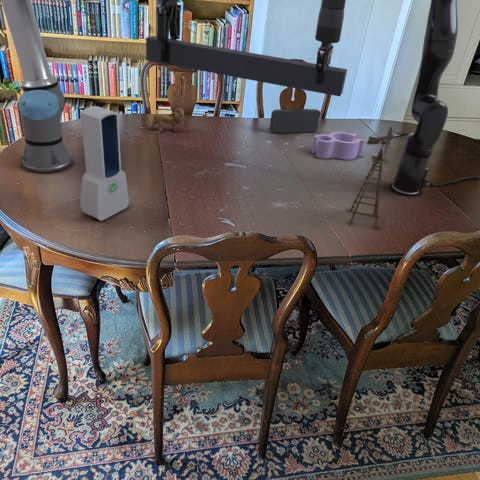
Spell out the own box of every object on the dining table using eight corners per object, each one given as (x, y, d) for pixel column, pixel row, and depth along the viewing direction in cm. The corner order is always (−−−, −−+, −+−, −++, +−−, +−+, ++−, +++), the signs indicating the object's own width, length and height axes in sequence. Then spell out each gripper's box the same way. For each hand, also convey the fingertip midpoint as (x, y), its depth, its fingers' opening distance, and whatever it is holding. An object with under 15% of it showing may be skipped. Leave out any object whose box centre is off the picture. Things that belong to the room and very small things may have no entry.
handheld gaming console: (314, 130, 214) (318, 108, 209) (317, 132, 212) (321, 110, 207) (268, 131, 207) (271, 109, 202) (270, 133, 205) (273, 111, 200)
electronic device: (98, 222, 131) (90, 118, 115) (80, 214, 134) (69, 111, 118) (130, 206, 140) (126, 108, 124) (111, 198, 143) (105, 101, 127)
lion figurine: (182, 127, 202) (182, 106, 197) (185, 131, 197) (185, 110, 193) (148, 128, 197) (147, 107, 192) (150, 132, 193) (150, 111, 188)
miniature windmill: (376, 228, 143) (404, 134, 127) (348, 223, 144) (372, 129, 128) (375, 214, 150) (401, 124, 134) (349, 209, 151) (371, 119, 135)
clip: (320, 160, 184) (324, 144, 180) (307, 148, 194) (310, 132, 190) (364, 158, 190) (368, 142, 186) (349, 146, 200) (352, 131, 196)
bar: (146, 60, 163) (145, 37, 159) (153, 58, 167) (153, 35, 163) (339, 96, 147) (345, 72, 143) (342, 92, 151) (347, 69, 147)
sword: (405, 131, 223) (406, 129, 223) (410, 133, 221) (411, 131, 221) (362, 143, 208) (363, 140, 207) (367, 145, 206) (368, 143, 205)
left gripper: (167, -13, 142) (166, 66, 154) (191, -16, 156) (189, 57, 169) (145, -16, 144) (146, 62, 156) (171, -18, 158) (170, 54, 171)
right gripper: (338, 28, 133) (327, 89, 143) (345, 23, 145) (335, 79, 154) (312, 25, 135) (304, 85, 144) (322, 20, 147) (313, 75, 156)
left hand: (168, 60), depth 163 cm, fingers closed on bar, 5 cm apart
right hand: (320, 81), depth 149 cm, fingers closed on bar, 5 cm apart
